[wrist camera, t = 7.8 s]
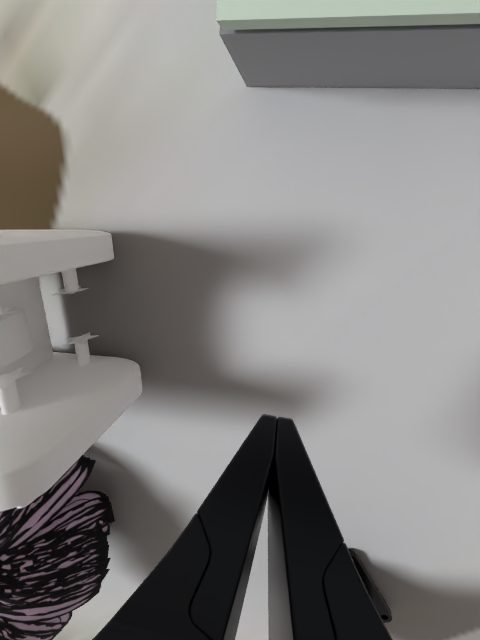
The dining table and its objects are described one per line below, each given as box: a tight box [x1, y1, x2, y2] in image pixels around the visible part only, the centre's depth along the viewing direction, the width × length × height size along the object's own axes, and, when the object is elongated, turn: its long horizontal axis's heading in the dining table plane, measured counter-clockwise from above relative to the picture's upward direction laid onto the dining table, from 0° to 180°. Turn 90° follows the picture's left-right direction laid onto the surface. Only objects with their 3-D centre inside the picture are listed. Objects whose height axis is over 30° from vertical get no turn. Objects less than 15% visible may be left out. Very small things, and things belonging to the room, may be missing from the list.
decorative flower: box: [0, 455, 115, 640], centre depth 24 cm, size 14×12×15 cm
